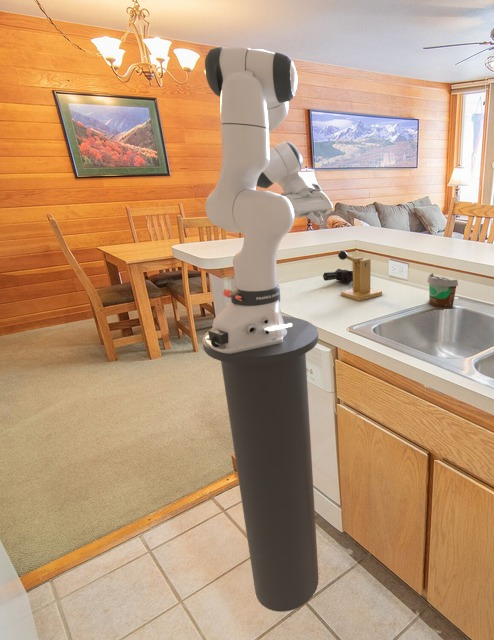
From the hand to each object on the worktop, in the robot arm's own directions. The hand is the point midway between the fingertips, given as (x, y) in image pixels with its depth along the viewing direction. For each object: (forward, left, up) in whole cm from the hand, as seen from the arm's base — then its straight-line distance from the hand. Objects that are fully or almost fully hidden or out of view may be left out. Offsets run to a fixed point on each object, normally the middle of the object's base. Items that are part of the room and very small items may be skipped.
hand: (320, 223), depth 154 cm
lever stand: (+11, -10, -26) cm, 30 cm away
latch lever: (+5, -10, -13) cm, 17 cm away
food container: (+23, -37, -26) cm, 50 cm away
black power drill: (+19, +6, -26) cm, 33 cm away
